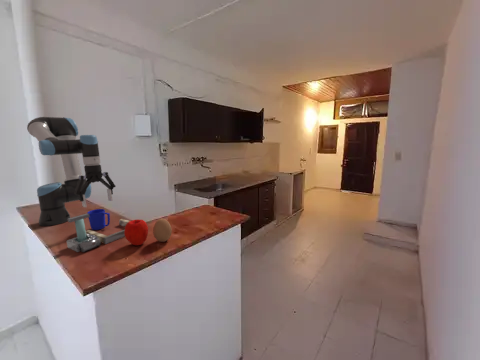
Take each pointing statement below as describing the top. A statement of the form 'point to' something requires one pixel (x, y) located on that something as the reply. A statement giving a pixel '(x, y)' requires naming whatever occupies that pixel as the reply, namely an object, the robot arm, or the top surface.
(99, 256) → the top surface
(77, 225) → the crank peg
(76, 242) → the block
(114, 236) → the bay
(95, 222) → the mug
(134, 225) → the apple
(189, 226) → the top surface
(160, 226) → the egg
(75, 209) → the top surface
